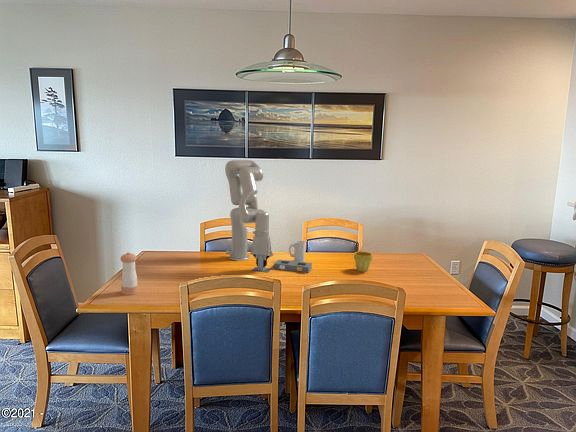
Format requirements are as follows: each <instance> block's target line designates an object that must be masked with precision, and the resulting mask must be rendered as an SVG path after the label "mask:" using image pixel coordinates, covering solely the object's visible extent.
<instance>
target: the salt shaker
mask: <svg viewBox="0 0 576 432" xmlns="http://www.w3.org/2000/svg"><path fill="white" fill-rule="evenodd" d="M136 261H137V256H136V254H134V253H131V252H126V253H124V254H122V255H121V256H120V262H122V264H121V265H122V272H121V273H122V274H121V286H120V289H121V291H120V292H121V295H123V296H132V295H136V294H138V293H139V284H138V275H137V272H136Z"/></svg>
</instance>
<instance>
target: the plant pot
mask: <svg viewBox="0 0 576 432" xmlns="http://www.w3.org/2000/svg"><path fill="white" fill-rule="evenodd" d="M353 259H354V262H355V268H356V269H355V270H356V271H357V272H362V273H363V272H365V273H366V272H368V271H369V268H370V265H371V262H372V260H373V254H372V253H371V252H369V251H361V250H360V251H354V253H353Z"/></svg>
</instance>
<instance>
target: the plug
mask: <svg viewBox="0 0 576 432" xmlns="http://www.w3.org/2000/svg"><path fill="white" fill-rule="evenodd" d="M263 261H264V255H258V266H257V267H258V270H260V271H264V270H265V268H266V266H265V267H263Z"/></svg>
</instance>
